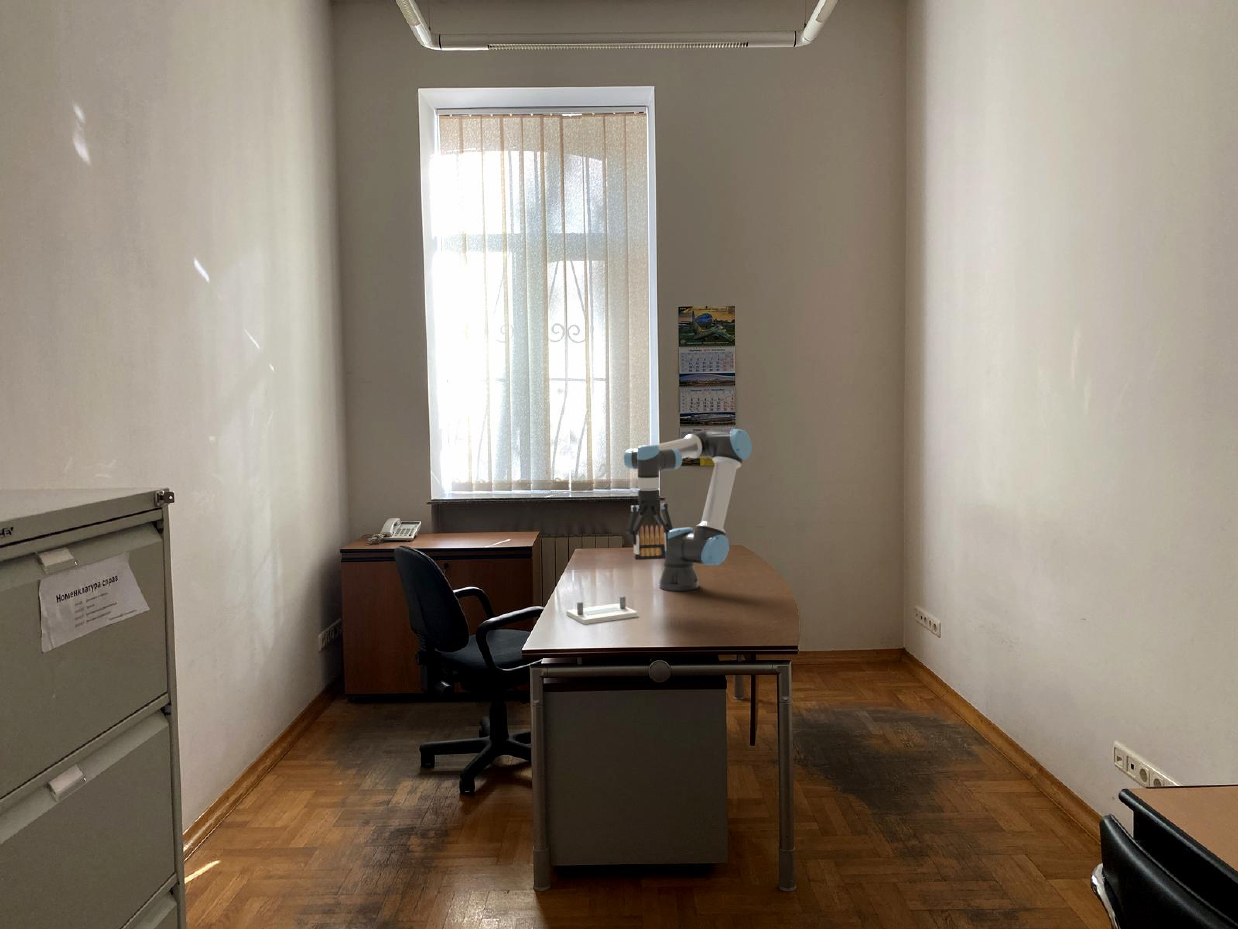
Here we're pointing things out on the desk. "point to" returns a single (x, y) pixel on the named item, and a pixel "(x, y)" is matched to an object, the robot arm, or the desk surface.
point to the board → (602, 612)
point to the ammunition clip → (651, 544)
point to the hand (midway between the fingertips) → (650, 552)
